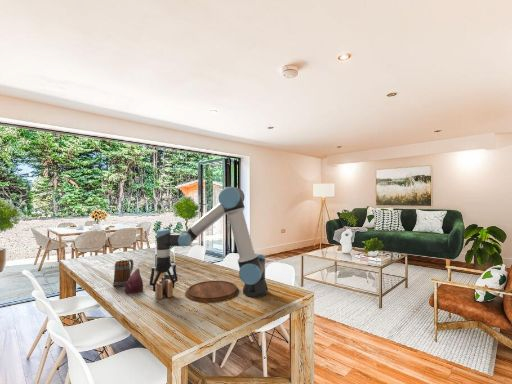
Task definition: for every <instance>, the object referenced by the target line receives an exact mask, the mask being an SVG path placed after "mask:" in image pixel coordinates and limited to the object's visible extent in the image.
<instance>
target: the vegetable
mask: <svg viewBox="0 0 512 384" xmlns="http://www.w3.org/2000/svg"><path fill="white" fill-rule="evenodd" d="M143 291H144V282H143V278H142V276H141V272H140V268H139V267H137V268H136V269H135V270H134V272H133V273H131V274H130V278H129V279H128V281H127V284H126V286H124V292H125V294H127V295H128V294H130V295H132V294H133V295H134V294H138V293H141V292H143Z"/></svg>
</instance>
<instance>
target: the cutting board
mask: <svg viewBox="0 0 512 384" xmlns="http://www.w3.org/2000/svg"><path fill="white" fill-rule="evenodd" d="M238 292H239V293H240V290H239V287H238V286H237V285H236V283H233V282H230V281H226V280H206V281H200V282H197V283H194V284H192V285H190V286H189V287H188V288H187V289H186V290H185V293H184V294H185V297H186V299H187V300H189V301H191V302H196V303H205V304H207V303H210V302H212V303H220V302H225V301H228V300H230V298H231V299H233V298H235V297H236V296H238V295H237V294H239V293H238ZM234 296H235V297H234ZM232 297H233V298H232ZM227 299H228V300H227ZM224 300H225V301H224ZM219 301H220V302H219ZM210 304H211V303H210Z"/></svg>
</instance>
